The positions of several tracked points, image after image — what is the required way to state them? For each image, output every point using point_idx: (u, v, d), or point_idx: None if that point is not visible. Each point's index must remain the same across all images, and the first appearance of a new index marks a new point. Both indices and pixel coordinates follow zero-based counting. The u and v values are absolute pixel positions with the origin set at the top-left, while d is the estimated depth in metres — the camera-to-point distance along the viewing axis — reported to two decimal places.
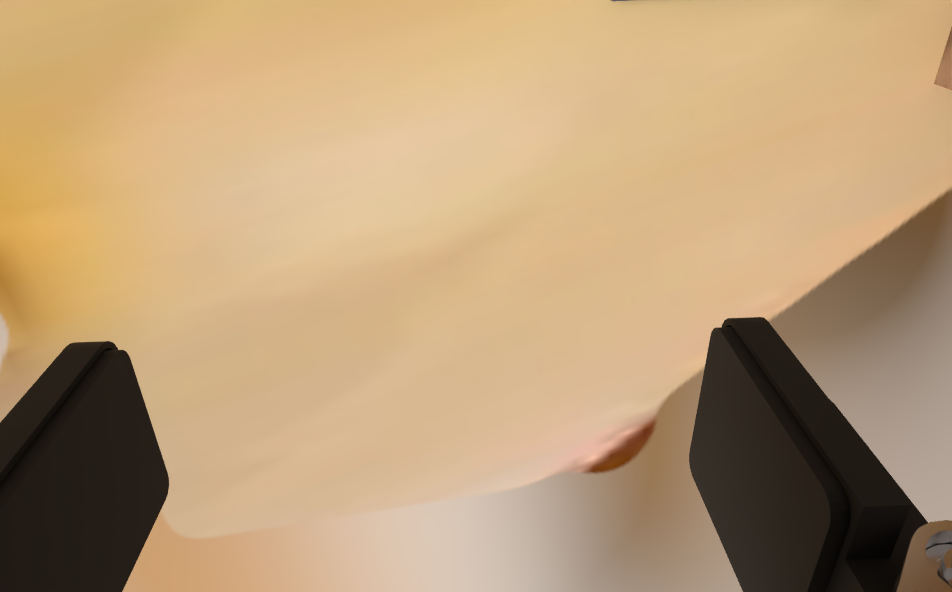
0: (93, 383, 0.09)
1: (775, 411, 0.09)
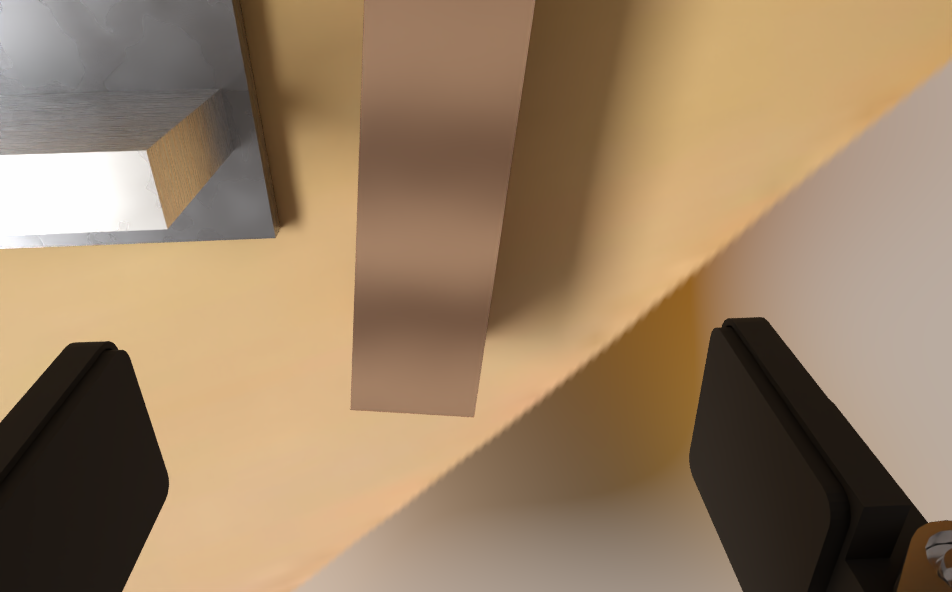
0: (93, 383, 0.09)
1: (775, 411, 0.09)
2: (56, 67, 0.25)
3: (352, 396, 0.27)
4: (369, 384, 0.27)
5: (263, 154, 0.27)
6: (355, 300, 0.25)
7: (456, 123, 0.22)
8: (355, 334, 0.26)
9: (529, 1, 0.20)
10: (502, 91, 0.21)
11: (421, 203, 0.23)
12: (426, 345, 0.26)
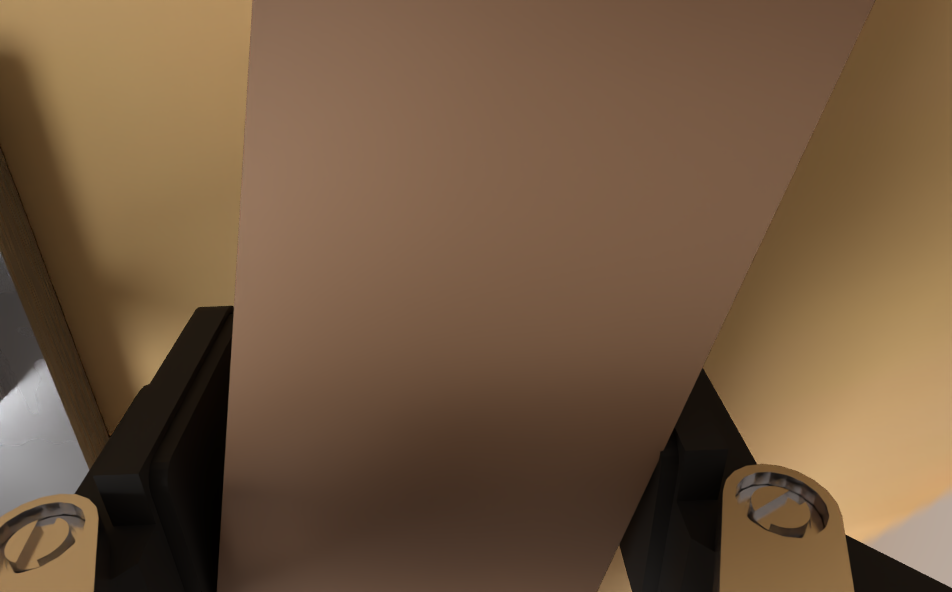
0: (227, 341, 0.10)
1: None
2: None
3: None
4: None
5: (75, 392, 0.14)
6: None
7: (483, 491, 0.08)
8: None
9: (745, 236, 0.07)
10: (615, 435, 0.08)
11: None
12: None
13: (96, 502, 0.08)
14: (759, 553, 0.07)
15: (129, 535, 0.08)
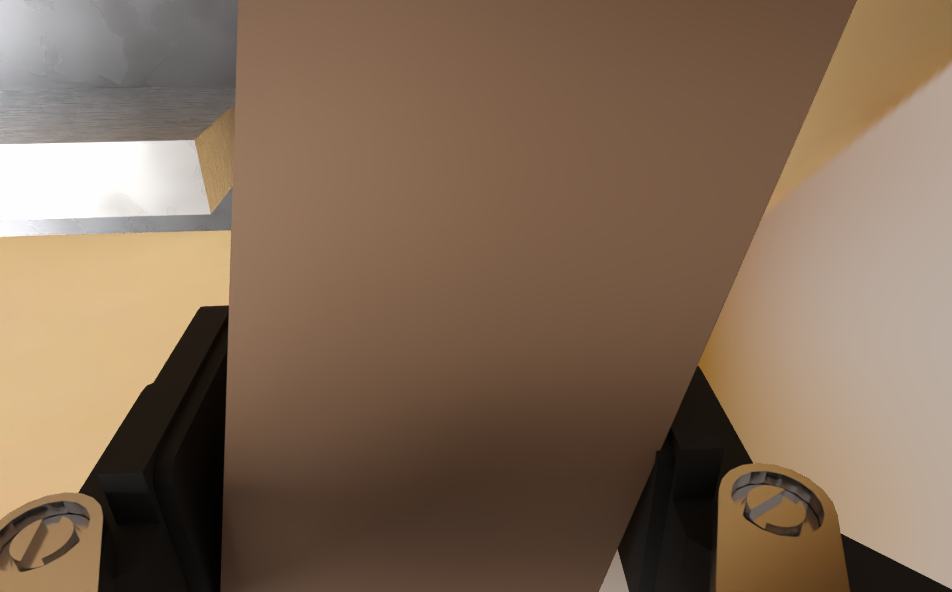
0: None
1: None
2: (102, 63, 0.26)
3: None
4: None
5: None
6: None
7: (482, 493, 0.08)
8: None
9: (736, 232, 0.07)
10: (613, 433, 0.08)
11: None
12: None
13: (100, 501, 0.08)
14: (755, 552, 0.07)
15: (134, 534, 0.08)
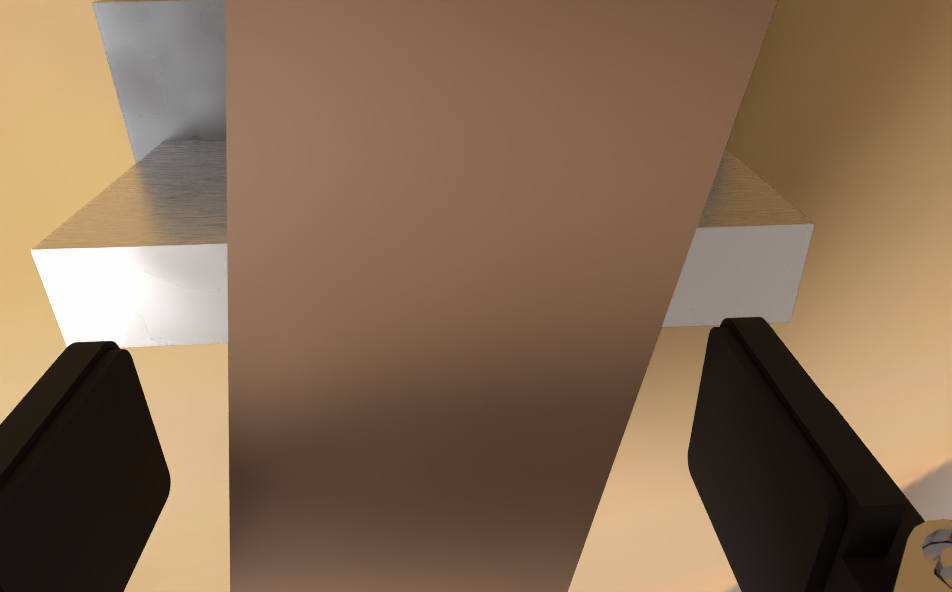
0: (95, 382, 0.09)
1: (773, 410, 0.09)
2: None
3: None
4: None
5: None
6: None
7: (469, 450, 0.09)
8: None
9: (690, 196, 0.07)
10: (588, 391, 0.09)
11: (378, 589, 0.10)
12: None
13: None
14: None
15: None
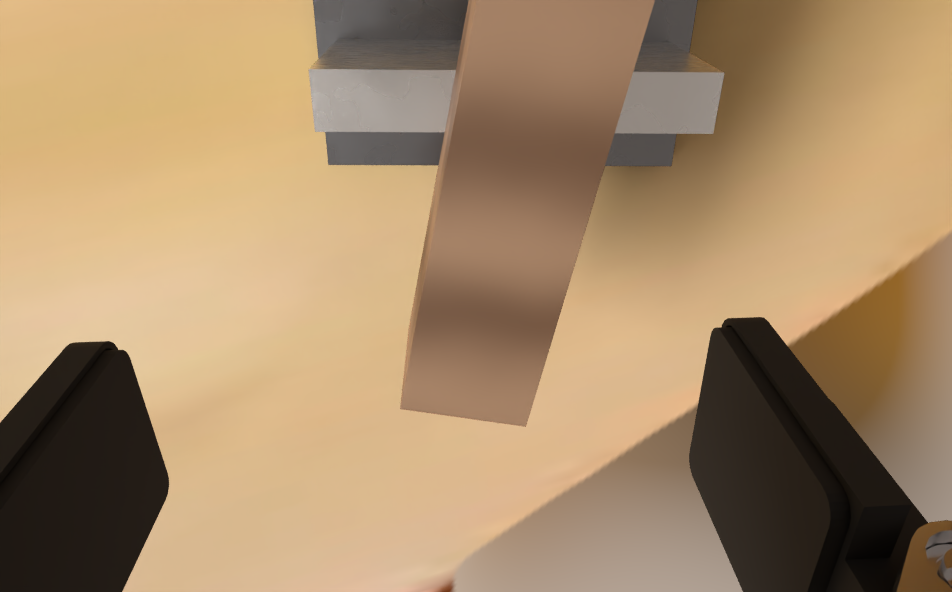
0: (93, 383, 0.09)
1: (775, 411, 0.09)
2: None
3: (404, 395, 0.26)
4: (424, 384, 0.26)
5: None
6: (422, 295, 0.24)
7: (554, 120, 0.21)
8: (417, 330, 0.25)
9: (648, 0, 0.20)
10: (606, 91, 0.21)
11: (506, 200, 0.22)
12: (488, 348, 0.25)
13: None
14: None
15: None
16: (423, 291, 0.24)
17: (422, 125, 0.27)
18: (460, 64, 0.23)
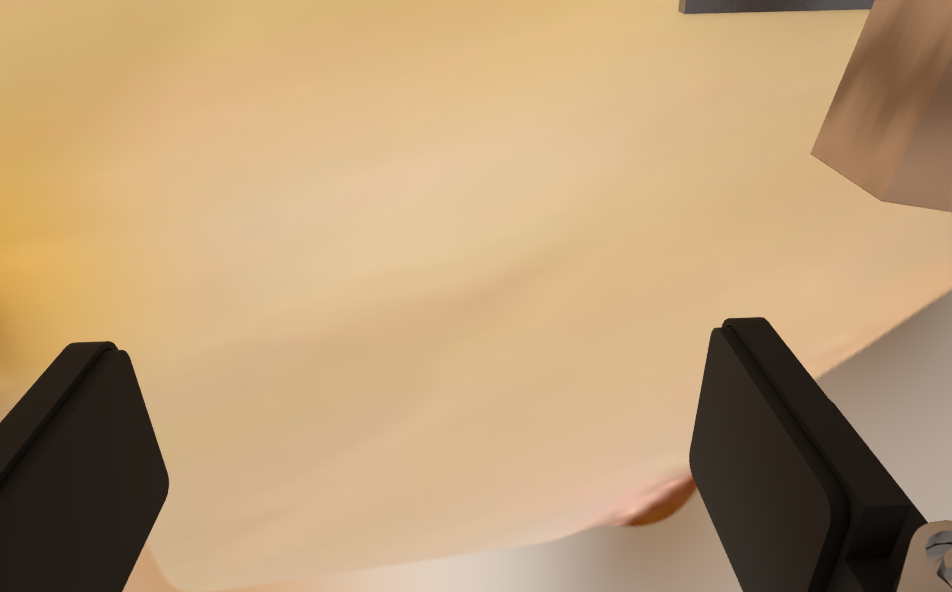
0: (93, 383, 0.09)
1: (775, 411, 0.09)
2: None
3: (890, 185, 0.27)
4: (913, 172, 0.26)
5: None
6: (946, 69, 0.25)
7: None
8: (927, 110, 0.25)
9: None
10: None
11: None
12: None
13: None
14: None
15: None
16: (948, 65, 0.24)
17: None
18: None
